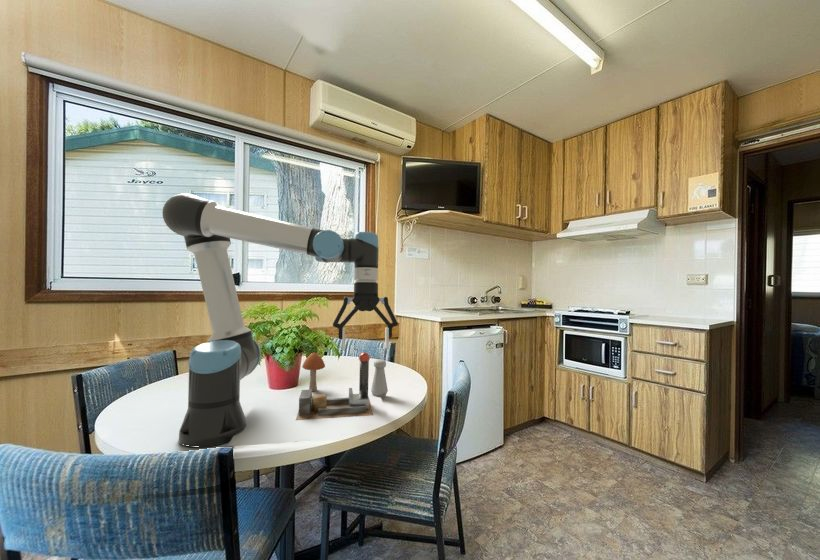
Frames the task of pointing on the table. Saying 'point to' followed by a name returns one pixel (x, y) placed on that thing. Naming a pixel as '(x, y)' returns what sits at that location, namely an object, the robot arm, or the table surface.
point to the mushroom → (313, 368)
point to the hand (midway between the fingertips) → (365, 349)
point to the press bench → (329, 408)
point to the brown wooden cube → (319, 402)
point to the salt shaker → (379, 379)
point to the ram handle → (361, 384)
